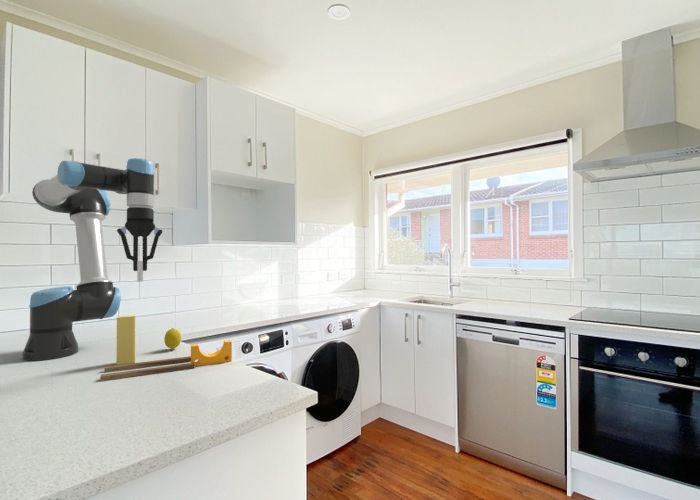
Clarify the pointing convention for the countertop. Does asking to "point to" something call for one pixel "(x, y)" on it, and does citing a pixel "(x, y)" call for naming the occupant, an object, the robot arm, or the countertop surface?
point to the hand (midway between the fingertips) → (140, 281)
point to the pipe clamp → (212, 355)
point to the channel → (146, 371)
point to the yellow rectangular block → (126, 339)
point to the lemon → (172, 338)
